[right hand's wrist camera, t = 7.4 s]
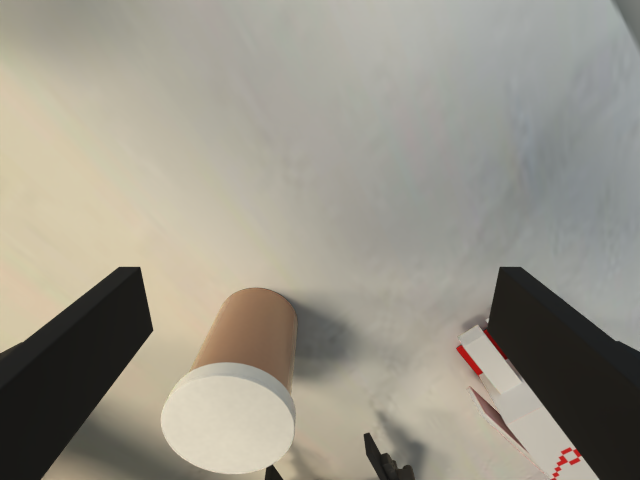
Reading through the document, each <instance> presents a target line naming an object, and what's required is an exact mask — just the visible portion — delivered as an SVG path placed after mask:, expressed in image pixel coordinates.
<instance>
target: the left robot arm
mask: <svg viewBox="0 0 640 480" xmlns="http://www.w3.org/2000/svg"><path fill="white" fill-rule="evenodd" d="M364 441H365V448H366V455H367V457H368V458H369V460H370V462H371V464H372V466H373V467H374V469H375V471H376V473H377V475H378V476H379V478H380V480H415V477H414V473H413V469H412V467H411V466H410V465H406V466H404V467H403V469H398V468H397V464H396V461H394V460H392V459H391V457H390V455H389V454H387V453H385V454H380V452H379V450H378V448H377V446H376V444H375V442H374V441H373V439H372V437H371V435H370V433H366V434H364ZM265 480H283V479H282V477H281V476H280V474H279V473H278V472H277V470H276V469H275V467H274V466H273V464H272V465H270V466H268V467H267V468H266V475H265Z"/></svg>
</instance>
